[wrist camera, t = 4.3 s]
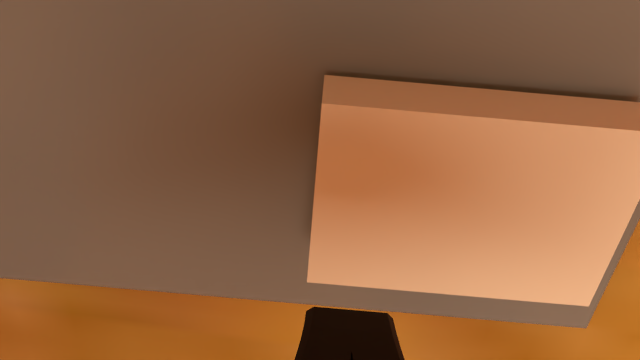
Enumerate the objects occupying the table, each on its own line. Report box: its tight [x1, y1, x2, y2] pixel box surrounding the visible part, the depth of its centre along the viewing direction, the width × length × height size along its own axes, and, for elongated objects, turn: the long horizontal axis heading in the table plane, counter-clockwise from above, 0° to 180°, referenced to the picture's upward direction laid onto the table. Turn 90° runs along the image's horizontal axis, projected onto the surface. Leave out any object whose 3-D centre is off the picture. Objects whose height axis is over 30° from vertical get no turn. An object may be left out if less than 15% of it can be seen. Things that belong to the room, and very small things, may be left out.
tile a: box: [307, 75, 640, 307], centre depth 14 cm, size 5×2×7 cm
